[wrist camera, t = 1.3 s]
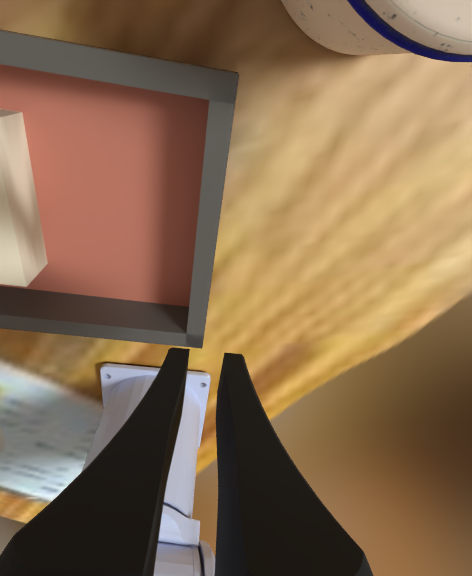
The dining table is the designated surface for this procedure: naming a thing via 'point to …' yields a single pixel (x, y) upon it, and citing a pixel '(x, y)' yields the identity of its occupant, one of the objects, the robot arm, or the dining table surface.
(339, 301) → the dining table surface
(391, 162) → the dining table surface
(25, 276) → the slab
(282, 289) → the dining table surface
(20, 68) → the grey and pink tray
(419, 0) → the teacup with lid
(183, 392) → the robot arm
